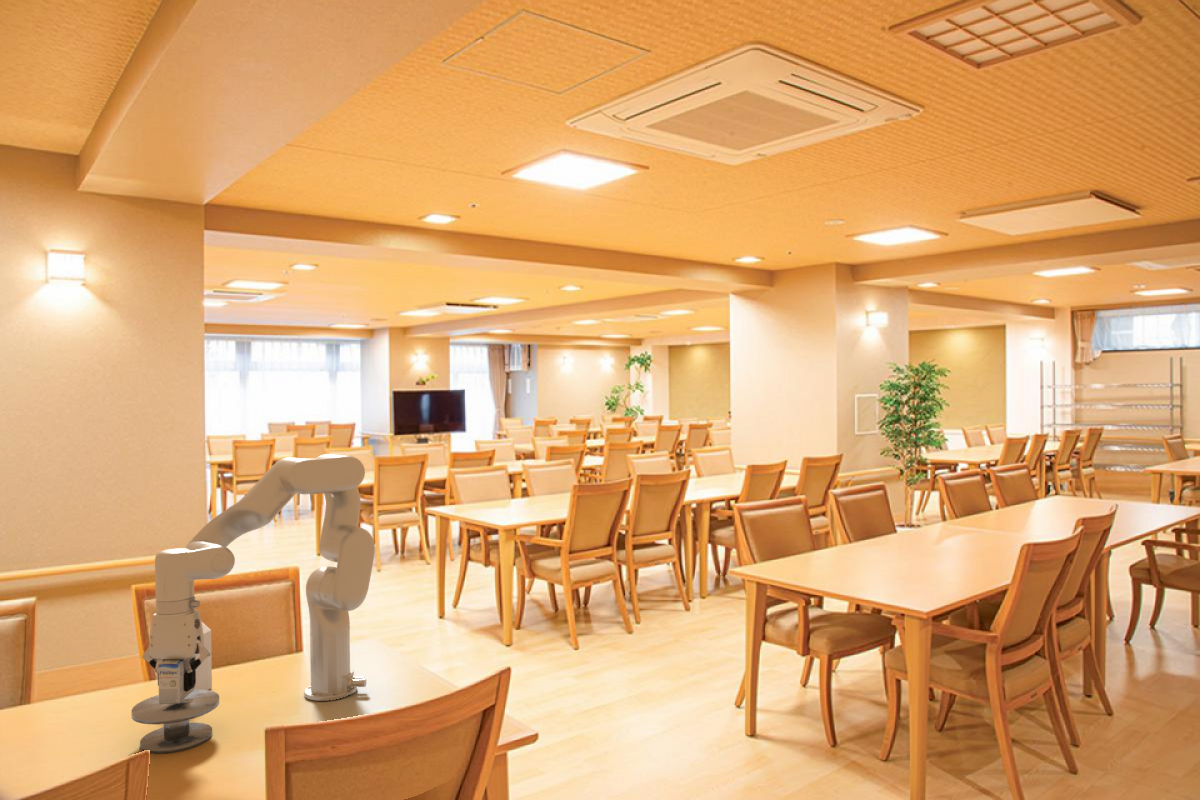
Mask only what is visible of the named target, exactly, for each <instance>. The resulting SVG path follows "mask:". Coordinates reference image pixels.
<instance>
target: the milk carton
mask: <svg viewBox="0 0 1200 800" xmlns="http://www.w3.org/2000/svg"><path fill="white" fill-rule="evenodd" d="M201 622H202V628H203V636H204V646H205V648H206V649H207V650H208V651H209V653H210V656H209V657H208V658H207V659H206V660H205V661H203V662H202V663H201V664H200V665H199V666H198V668H197V669H196V684H195V686H194V689H202V690H210V689H212V687H213V682H212V681H213V677H212V676H213V675H212V669H213V666H212V661H213V660H212V659H213V658H212V629H211V628H209V626H208V625H207V624H205V623H204V622H203V621H202V620H201ZM195 657H196V660H197V659H198V658H199V657H200V654H195Z"/></svg>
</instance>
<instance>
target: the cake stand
mask: <svg viewBox="0 0 1200 800" xmlns="http://www.w3.org/2000/svg"><path fill="white" fill-rule="evenodd" d="M219 704H220V694H219V693H217V692H216V691H214V690H210V689H209V690H202V689H194V690H193V691H192V692H191V693H190V694H189V695H188V696H187V697H185V698H184V699H183V700H182V701H181V702H180V703H176V704H159V694H158V695H154V696H152V697H151V696H150V697H148V698H146V699H143V700H141V701H140V702H138V703H136V704H135V705H134V706H133V707H132V708H131V719H132V721H134V722H136V723H139V724H144V725H163V727H160V728H157V729H154V730H152V731H150V732H148V733H146V734H145V735H144V736H143V737H142V738H141V739H140V742H139V748H140V750H141V749H142V750H141V751H142V752H144V750H150V753H149V754H152V753H153V754H154V755H157V754H158V755H163V754H164V755H165V754H172V753H179V752H185V751H187V750H191V749H193V748H196V747H199V746H201V745H202V744H204V743H207V742H208V741H209V740H211V738H212V736H213V727H212V726H211V725H210V724H207V723H203V722H190V720H192V719H195V718H199V717H202V716H204V715H206V714H209V713H210V712H212V711H213V710H216V708H217V707H218V706H219ZM153 754H152V755H153Z"/></svg>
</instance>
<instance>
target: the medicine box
mask: <svg viewBox="0 0 1200 800" xmlns="http://www.w3.org/2000/svg"><path fill="white" fill-rule="evenodd" d="M158 673H159V686H158V695H159V704H176V703H180V702H181V701H182V700H183V699H184V698H185V697H187V696H188V695H189V694H190V693H191V692H192V691H193V690H194V687H193V688H192V689H191V690H189V691H184V673H186V668H185V665H184V662H183V660H164V661H163V662H162V663H160V664H159V665H158ZM158 673H157V674H158Z"/></svg>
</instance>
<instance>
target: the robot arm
mask: <svg viewBox="0 0 1200 800" xmlns="http://www.w3.org/2000/svg"><path fill="white" fill-rule="evenodd" d="M365 475H366V469H365V466H364V464H363V462H362V461H361V460H360V459H359V458H357V457H354V456H352V455H345V454H343V455H342V454H329V453H327V454H326V453H325V454H321V455H319V456H317V457H315V458H301V457H300V458H299V457H284V458H281V459H279V460H277V462H275V463H274V464H273V465H272V466H271V467H270V468H269V469H268V470H267V471H266V472H265V474H263V476H262V477H260V479H259V480H258V481H257V482H256V483H255V484H254V485H253V486H252V487H251V488H250V489H249V490H248V491H247V492H246V494H245V495H243V496H242V497H241V498H240V499H239V501H236V503H234V504H232V505H231V506H230V507H228V508H227V509H225V510H224V511H222V512H221V513H220V514H218V515H216V516H215V517H213V519H210V520H209V521H208V523H206V524H205V525H204V526H203V527H202V528H201V529H200V530H199V531H198V532H197V533H196V534H195V535H194V536H193V537H192V538H191V540H190V541H189V542H188V543H187V544H186V546H185V547H184V548H180V547H177V548H176V547H175V548H168V549H163V550H160V551H159V552H157V554H156V555H155V557H154V573H155V574H154V582H155V583H154V584H155V585H154V587H155V589H154V590H155V613H153V616H152V619H151V624H150V632H149V645H148V647H147V649H146V650H145V652H144V653H143V654H142V656H141V657H142V659H143V660H144V661H146V662H147V663H148V664H149V665H150V666H151V667H152V668H153V670H154V672H155V673H156V674H157V686H158V687H159V673H158V665H159V664H160V663H162V662H163V661H164V660H183V662H184V665H185V668H186V673H184V691H189V690H191V689H192V688H193V687H194V686H195V684H196V669H197V668H198V666H199V665H200V664H201V663H202V662H203V661H205V660H206V659H207V658H208V657H209V656H210V653H209V651H208V650H207V649H206V648H205V646H204V636H203V628H202V622H203V621H202V618H201V614H200V610H199V609H196V608H198V607H200V606H201V601H200V600H197V599H196V596H195V581H196V580H198V581H199V580H215V579H221V578H223V577H225V576H227V575H228V574H229V573H230V572H231V571H232V570H233V568H234V566H235V561H236V558H235V555H234V553H233V552H232V550H231V549H230V548H228V546H229V545H230V544H231V543H233V542H234V541H235V540H237V539H238V538H239V537H241V536H243V535H245V534H247V533H250V532H253V531H255V530H258V529H261V528H262V527H265V526H267V525H268V524H270V523H271V522H272V521H273V519H275V517H276V516H277V515H278V514H279V513H280V511H282V510H283V508H284V507H285V506H286V505H287V504H288V503H289V502H290V501H291V500H292V498H293V497H294V496H296V494H298V495H320V494H323V495H324V498H325V510H324V518H323V523H322V529H321V533H320V538H319V542H318V543H319V544H318V549H319V553H320V554H321V557H323V558H324V559H325V560H328V561H331V562H333V563H336V567H335V566H320V567H318V568H317V569H315V570H314V571H312V572H311V574H310V575H309V576H308V578H307V581H306V584H305V595H306V601H307V607H308V613H309V641H310V642H309V643H310V644H309V646H310V647H309V649H310V650H309V651H310V652H309V653H310V654H309V655H310V656H309V658H310V659H309V661H310V662H309V663H310V685H308V686H307V687H306V688H305V689H304V693H303V694H304V695H303V696H304V697H305V698H306V699H308V700H309V701H317V702H327V701H329V700H330V701H336V699H337V700H340V698H341V699H344V698H347V697H349V696H348V695H350V694H351V695H353V694H354V693H355V692H356V691H357V690H356V689H358V688H366V686H367V679H366V677H365V676H356V675H355V671H354V670H351V648H350V647H351V645H350V643H351V640H350V639H351V637H350V635H351V633H350V628H351V626H350V624H351V623H350V615H349V613H350V612H351V611H354V610H356V609H358V608H359V607H361V605H362V604H363V603H364V601H365V599H366V597H367V594H368V591H369V586H370V583H371V582H370V581H371V576H372V571H373V570H372V569H373V567H374V559H375V552H376V548H375V547H376V545H375V541H374V538H373V536H372V534H371V533H370V532H369V531H368V530H367V529H365V528H363V527H360V526H359V522H360V514H361V505H362V504H361V495H360V491H359V489H358V487H359V486H360V485H361V484H362V482H363V481H364V479H365ZM201 621H202V622H201ZM195 654H200V657H199V658H198V659H197V660H196V657H195ZM351 695H350V696H351ZM346 696H347V697H346ZM343 697H344V698H343ZM330 701H329V702H330Z"/></svg>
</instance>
